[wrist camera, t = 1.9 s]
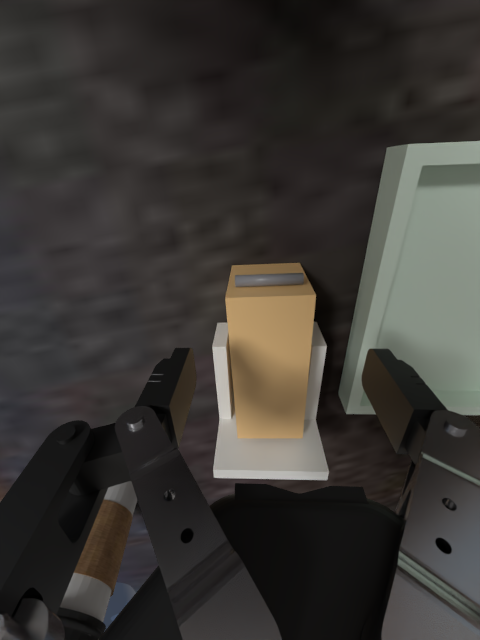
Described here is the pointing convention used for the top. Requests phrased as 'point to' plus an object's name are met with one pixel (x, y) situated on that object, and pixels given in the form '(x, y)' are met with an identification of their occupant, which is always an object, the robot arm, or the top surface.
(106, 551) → the coffee cup
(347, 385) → the tray
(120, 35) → the top surface
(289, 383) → the box with top handle
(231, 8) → the top surface
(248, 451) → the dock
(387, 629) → the robot arm
